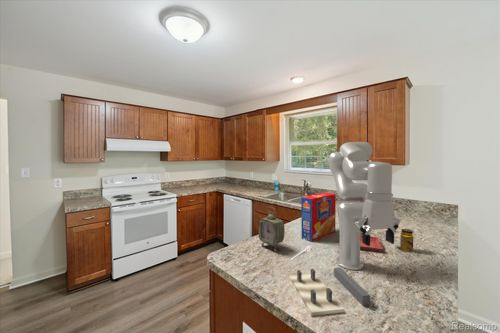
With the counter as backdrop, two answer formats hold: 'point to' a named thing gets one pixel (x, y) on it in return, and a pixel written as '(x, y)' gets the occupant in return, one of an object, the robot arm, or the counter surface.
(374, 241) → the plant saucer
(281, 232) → the tabletop clock
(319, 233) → the pasta box
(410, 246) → the condiment
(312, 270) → the clip board
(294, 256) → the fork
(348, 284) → the bar
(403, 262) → the counter surface
